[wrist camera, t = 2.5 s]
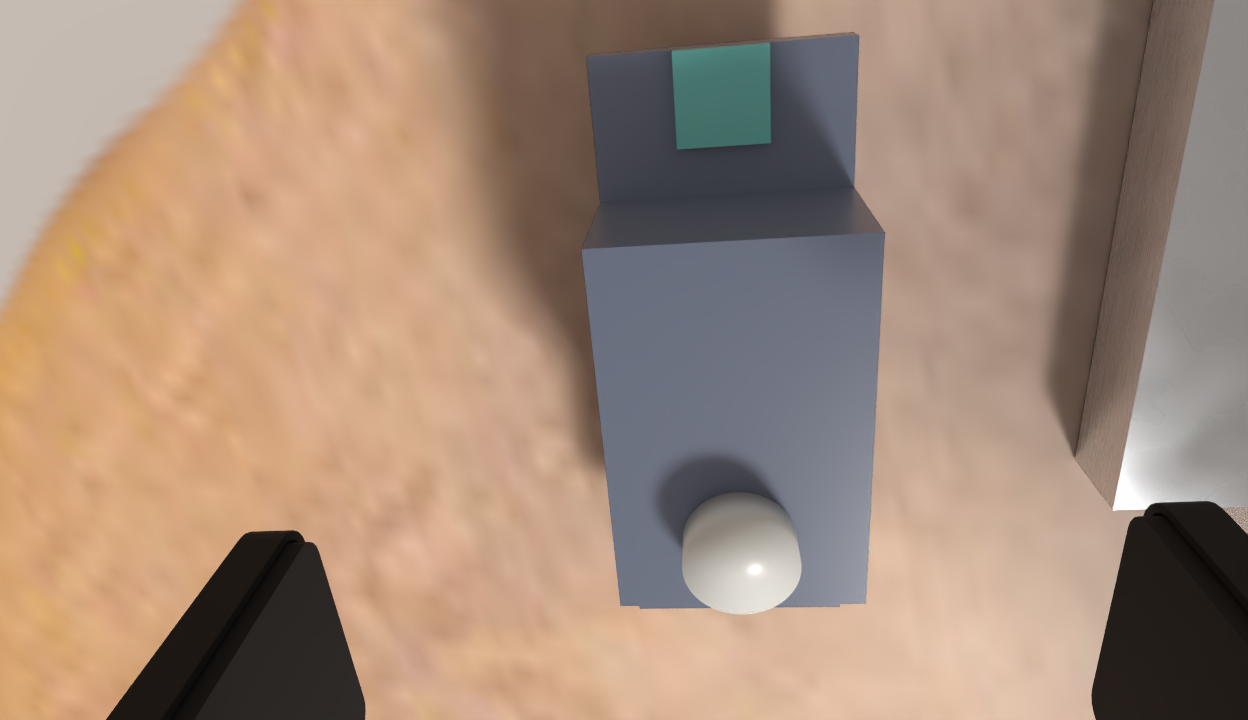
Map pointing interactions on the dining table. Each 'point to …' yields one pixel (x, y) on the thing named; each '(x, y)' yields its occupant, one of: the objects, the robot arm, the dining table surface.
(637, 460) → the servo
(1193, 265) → the chassis
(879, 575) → the dining table surface
